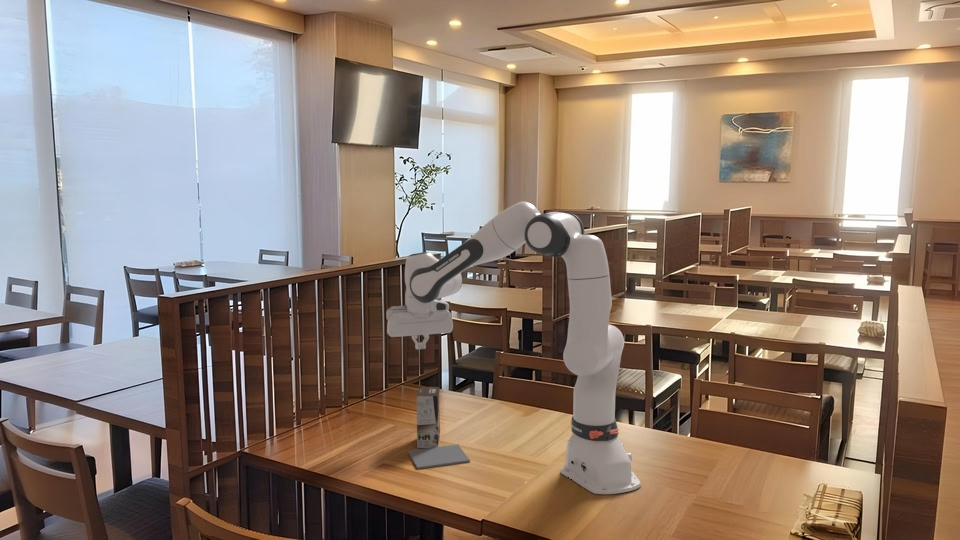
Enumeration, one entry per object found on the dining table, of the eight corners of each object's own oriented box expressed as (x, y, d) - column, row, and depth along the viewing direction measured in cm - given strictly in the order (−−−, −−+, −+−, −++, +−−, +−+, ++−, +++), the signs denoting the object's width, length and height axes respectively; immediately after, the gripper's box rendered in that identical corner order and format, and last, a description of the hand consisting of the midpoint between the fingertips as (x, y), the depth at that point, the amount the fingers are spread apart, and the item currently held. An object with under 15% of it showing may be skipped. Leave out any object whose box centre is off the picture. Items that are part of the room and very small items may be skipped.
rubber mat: (469, 462, 188) (469, 460, 188) (417, 469, 184) (417, 467, 184) (458, 446, 200) (458, 444, 200) (408, 452, 195) (408, 450, 195)
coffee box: (438, 448, 198) (437, 395, 196) (416, 448, 198) (415, 395, 196) (440, 437, 207) (440, 386, 205) (419, 437, 207) (418, 386, 205)
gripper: (387, 308, 200) (389, 353, 202) (454, 304, 206) (454, 348, 208) (384, 304, 206) (385, 349, 208) (448, 301, 212) (449, 343, 214)
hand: (420, 348), depth 208 cm, fingers closed
